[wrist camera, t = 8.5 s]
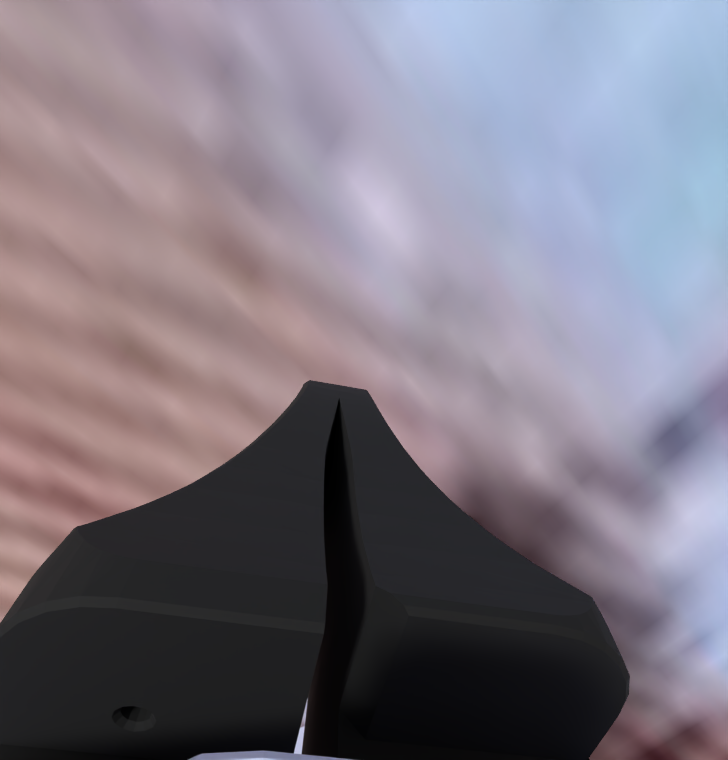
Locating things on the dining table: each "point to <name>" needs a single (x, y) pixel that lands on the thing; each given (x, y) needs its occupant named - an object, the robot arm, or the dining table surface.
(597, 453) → the dining table surface
